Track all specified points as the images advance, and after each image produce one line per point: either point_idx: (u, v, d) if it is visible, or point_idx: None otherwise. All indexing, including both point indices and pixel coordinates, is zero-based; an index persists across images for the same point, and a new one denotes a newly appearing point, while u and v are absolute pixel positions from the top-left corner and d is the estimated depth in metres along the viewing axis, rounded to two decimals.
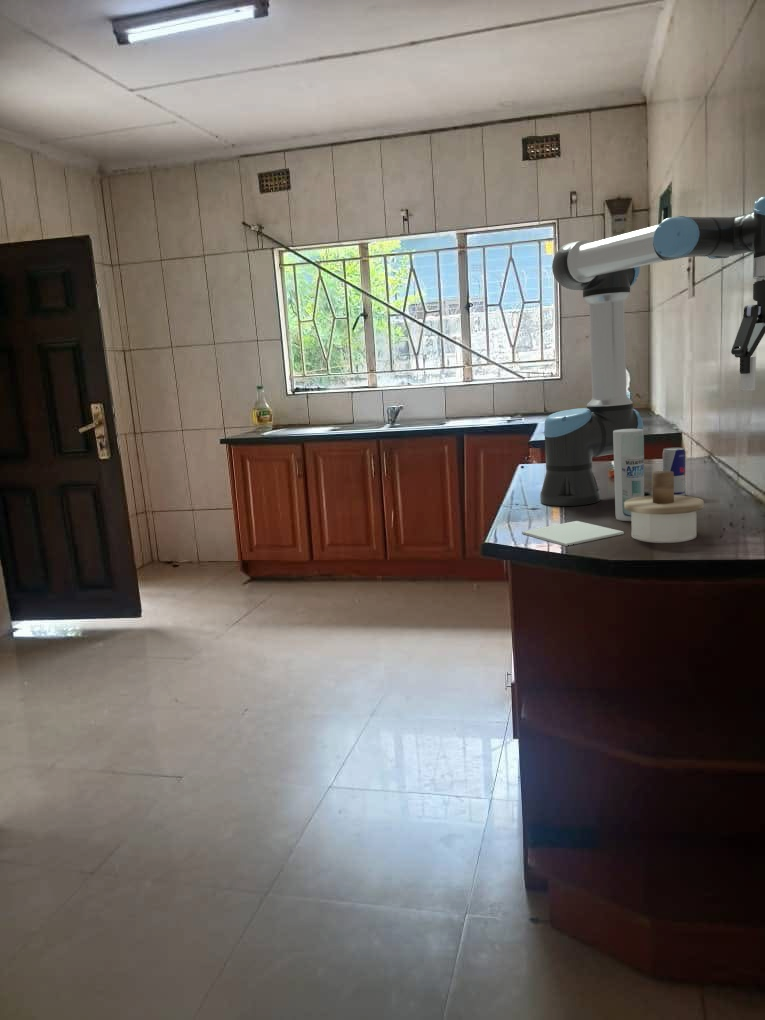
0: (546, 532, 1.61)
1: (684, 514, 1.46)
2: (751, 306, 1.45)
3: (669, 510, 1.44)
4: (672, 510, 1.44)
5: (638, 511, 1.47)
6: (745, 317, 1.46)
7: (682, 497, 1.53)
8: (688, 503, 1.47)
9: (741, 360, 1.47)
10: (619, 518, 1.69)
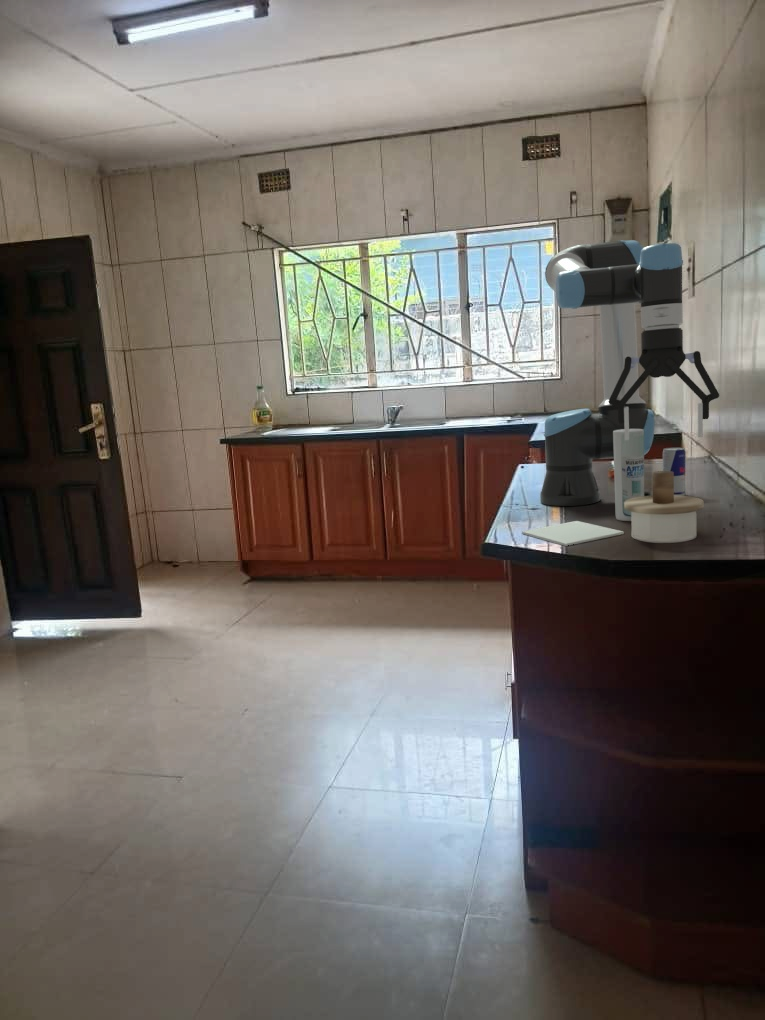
0: (546, 532, 1.61)
1: (684, 514, 1.46)
2: (625, 358, 1.47)
3: (669, 510, 1.44)
4: (672, 510, 1.44)
5: (638, 511, 1.47)
6: None
7: (682, 497, 1.53)
8: (688, 503, 1.47)
9: None
10: (619, 518, 1.69)
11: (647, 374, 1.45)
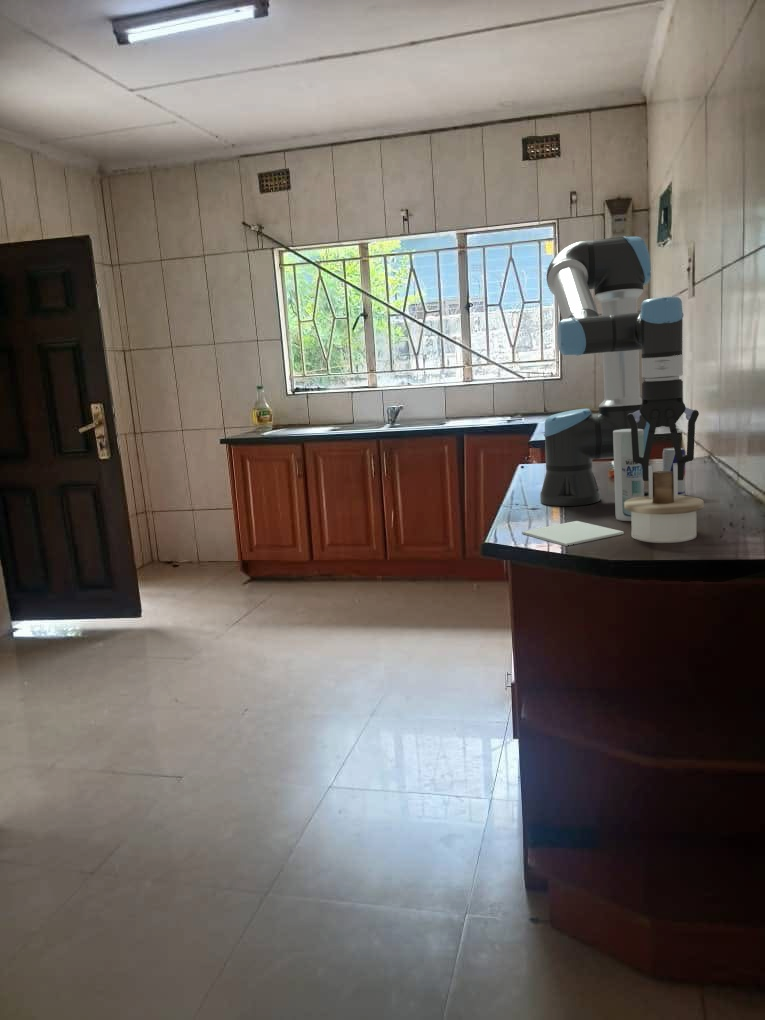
0: (546, 532, 1.61)
1: (684, 514, 1.46)
2: (627, 416, 1.49)
3: (669, 510, 1.44)
4: (672, 510, 1.44)
5: (638, 511, 1.47)
6: None
7: (682, 497, 1.54)
8: (688, 503, 1.47)
9: None
10: (619, 518, 1.69)
11: (654, 426, 1.47)
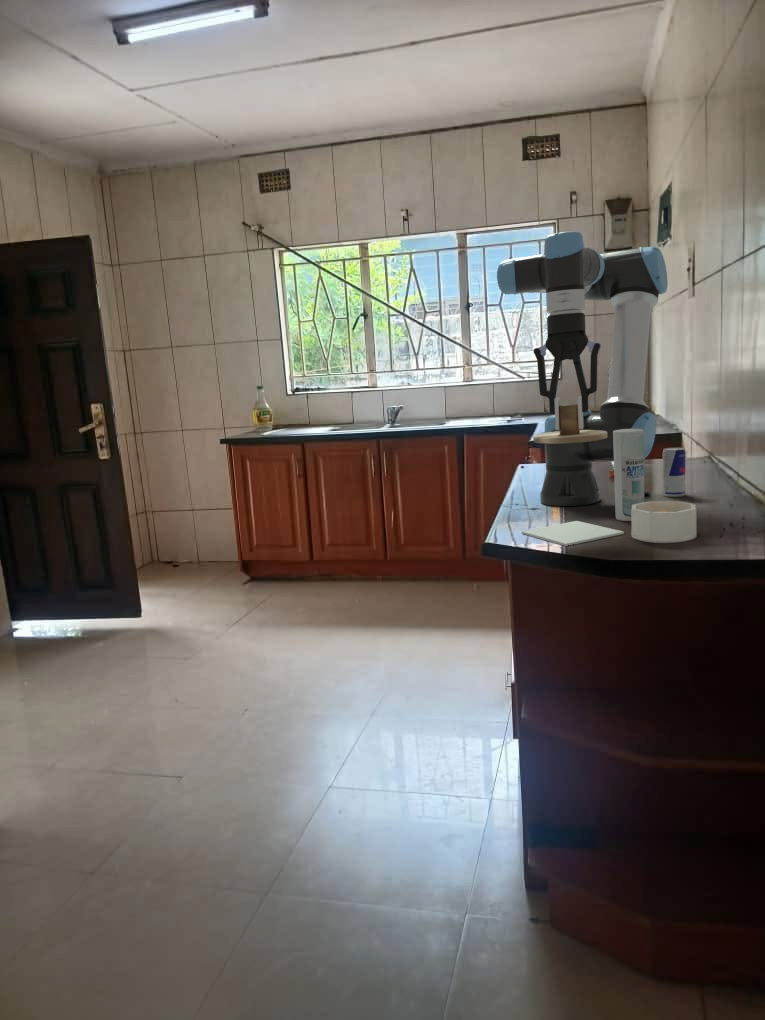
0: (546, 532, 1.61)
1: (684, 514, 1.46)
2: None
3: (571, 439, 1.49)
4: (574, 439, 1.48)
5: (543, 441, 1.52)
6: None
7: (589, 431, 1.58)
8: (592, 434, 1.52)
9: None
10: (619, 518, 1.69)
11: (558, 359, 1.52)
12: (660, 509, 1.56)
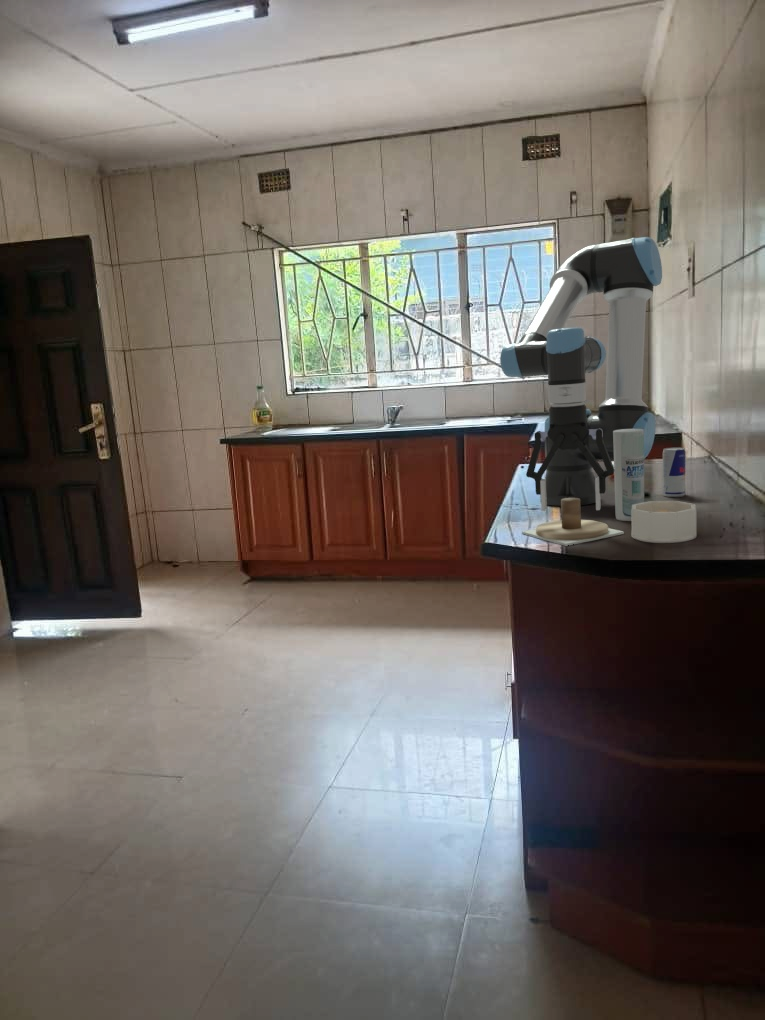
0: None
1: (684, 514, 1.46)
2: (535, 433, 1.58)
3: (573, 536, 1.52)
4: (575, 536, 1.52)
5: (545, 536, 1.56)
6: None
7: (591, 522, 1.62)
8: (593, 529, 1.56)
9: None
10: (619, 518, 1.69)
11: (556, 448, 1.56)
12: (660, 509, 1.56)
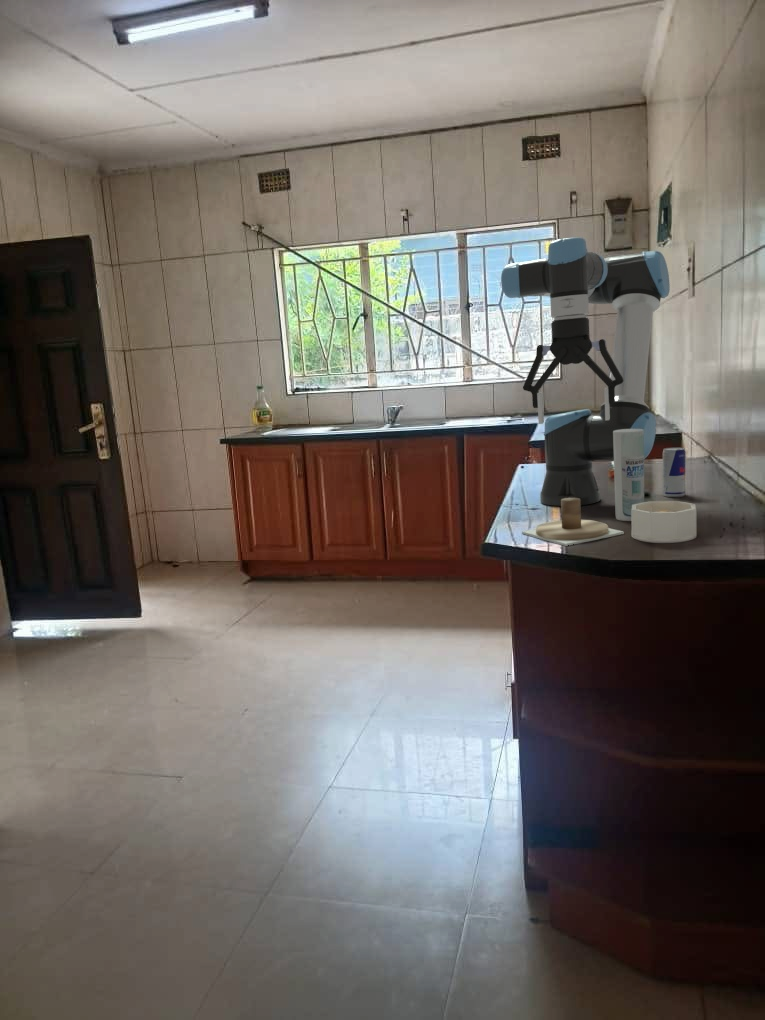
0: None
1: (684, 514, 1.46)
2: None
3: (573, 536, 1.52)
4: (575, 536, 1.52)
5: (545, 536, 1.56)
6: None
7: (591, 522, 1.62)
8: (593, 529, 1.56)
9: None
10: (619, 518, 1.69)
11: (557, 361, 1.54)
12: (660, 509, 1.56)
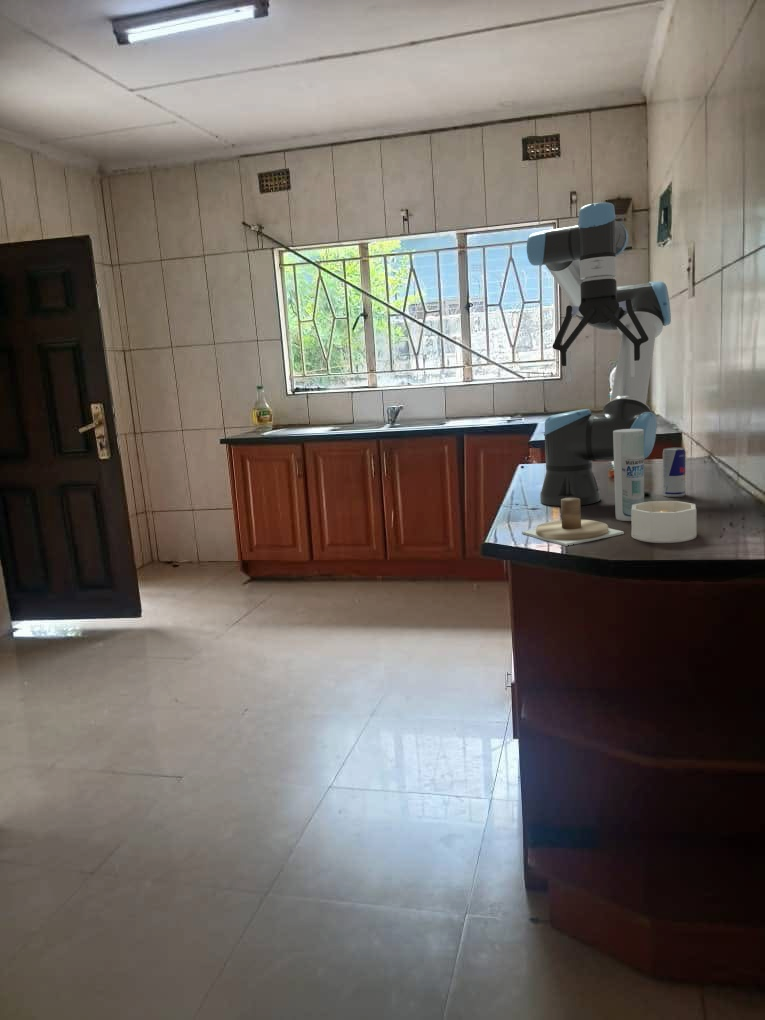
0: None
1: (684, 514, 1.46)
2: None
3: (572, 536, 1.52)
4: (575, 536, 1.52)
5: (545, 536, 1.56)
6: None
7: (591, 522, 1.62)
8: (593, 529, 1.56)
9: None
10: (619, 518, 1.69)
11: (585, 321, 1.63)
12: (660, 509, 1.56)
